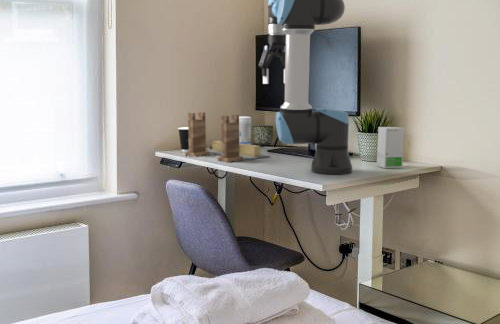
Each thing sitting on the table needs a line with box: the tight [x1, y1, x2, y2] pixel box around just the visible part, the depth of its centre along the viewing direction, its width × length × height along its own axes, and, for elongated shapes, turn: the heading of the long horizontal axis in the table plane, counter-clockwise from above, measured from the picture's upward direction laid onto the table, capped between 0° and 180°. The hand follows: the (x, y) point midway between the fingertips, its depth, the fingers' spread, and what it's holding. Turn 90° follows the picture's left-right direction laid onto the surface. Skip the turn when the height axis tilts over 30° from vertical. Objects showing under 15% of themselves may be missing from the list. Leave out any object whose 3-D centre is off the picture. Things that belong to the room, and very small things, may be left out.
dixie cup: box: [177, 126, 189, 153], centre depth 260 cm, size 8×8×11 cm
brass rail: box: [211, 140, 261, 157], centre depth 248 cm, size 28×4×4 cm, turn 45°
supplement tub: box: [239, 115, 252, 145], centre depth 279 cm, size 10×10×15 cm
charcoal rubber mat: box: [207, 149, 271, 161], centre depth 248 cm, size 32×12×1 cm, turn 45°
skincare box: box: [376, 126, 405, 169], centre depth 214 cm, size 8×7×16 cm
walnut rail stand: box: [184, 111, 244, 163], centre depth 238 cm, size 28×9×19 cm, turn 45°
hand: (276, 83), depth 245 cm, fingers open, 13 cm apart
